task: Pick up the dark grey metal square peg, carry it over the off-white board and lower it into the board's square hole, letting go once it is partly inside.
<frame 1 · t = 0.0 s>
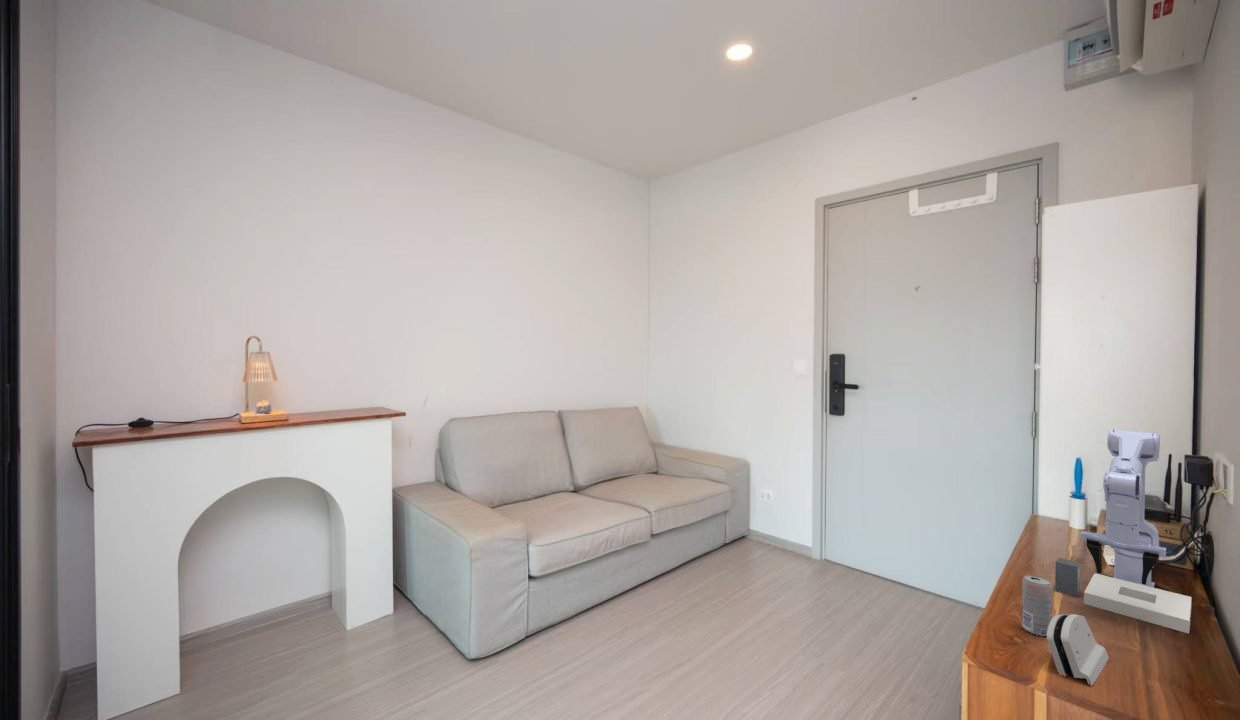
hand: (1121, 577, 122), 10 cm above the table, tool pointing down, fingers open, 7 cm apart
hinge: (1075, 664, 104), on the table
hole board: (1137, 606, 128), on the table
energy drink: (1036, 631, 116), on the table
square peg: (1067, 591, 136), on the table
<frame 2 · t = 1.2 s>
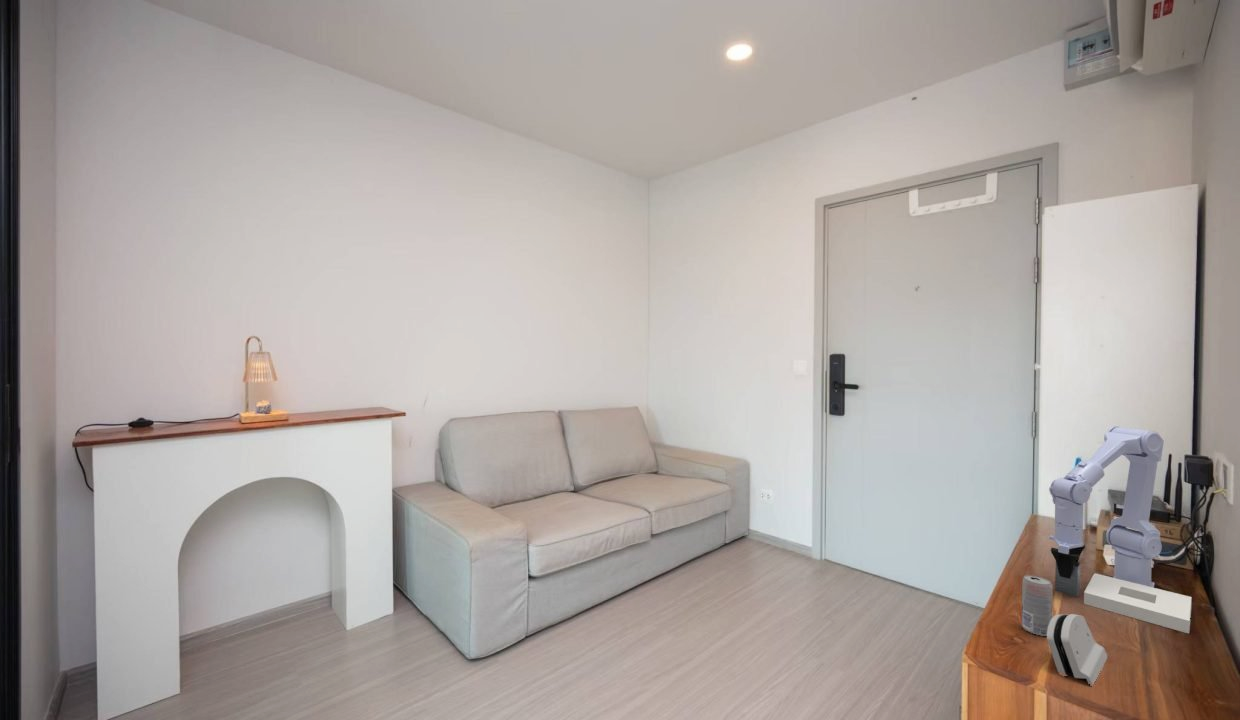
hand: (1067, 573, 136), 5 cm above the table, tool pointing down, fingers open, 7 cm apart
nothing on the table moved.
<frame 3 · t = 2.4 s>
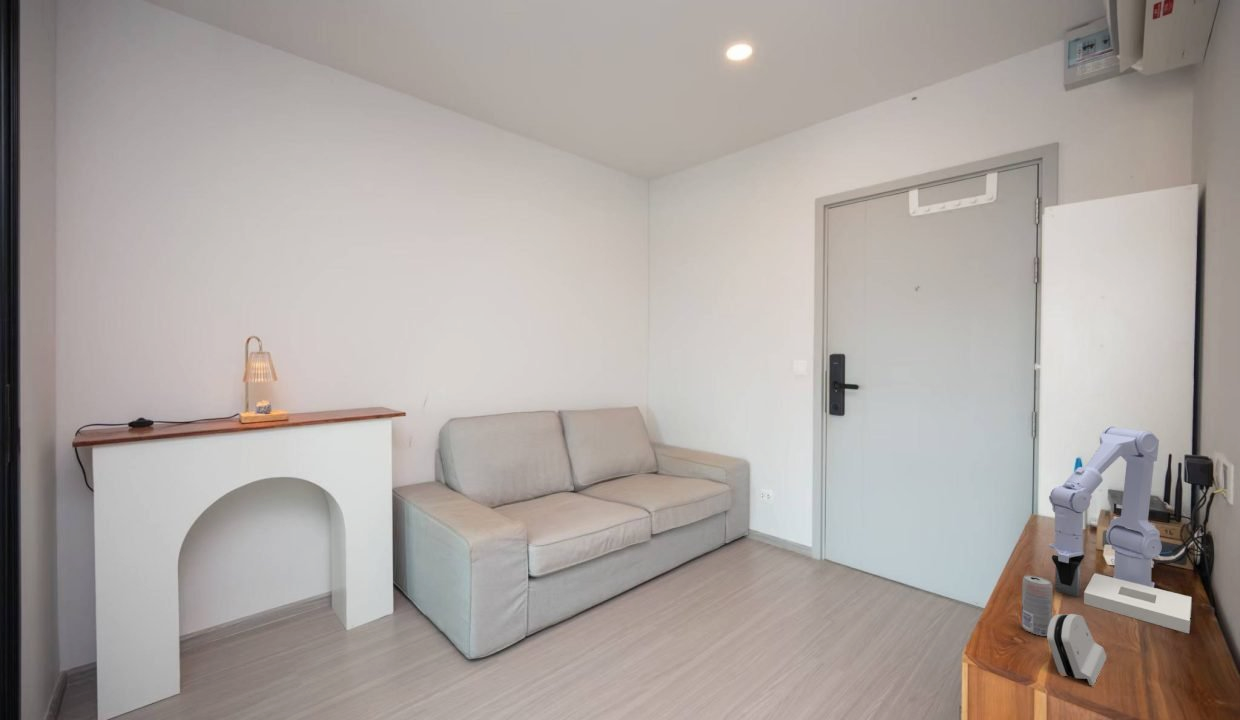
hand: (1067, 581, 136), 3 cm above the table, tool pointing down, fingers closed on square peg, 4 cm apart
square peg: (1067, 591, 136), on the table, touching gripper
everything else where it was.
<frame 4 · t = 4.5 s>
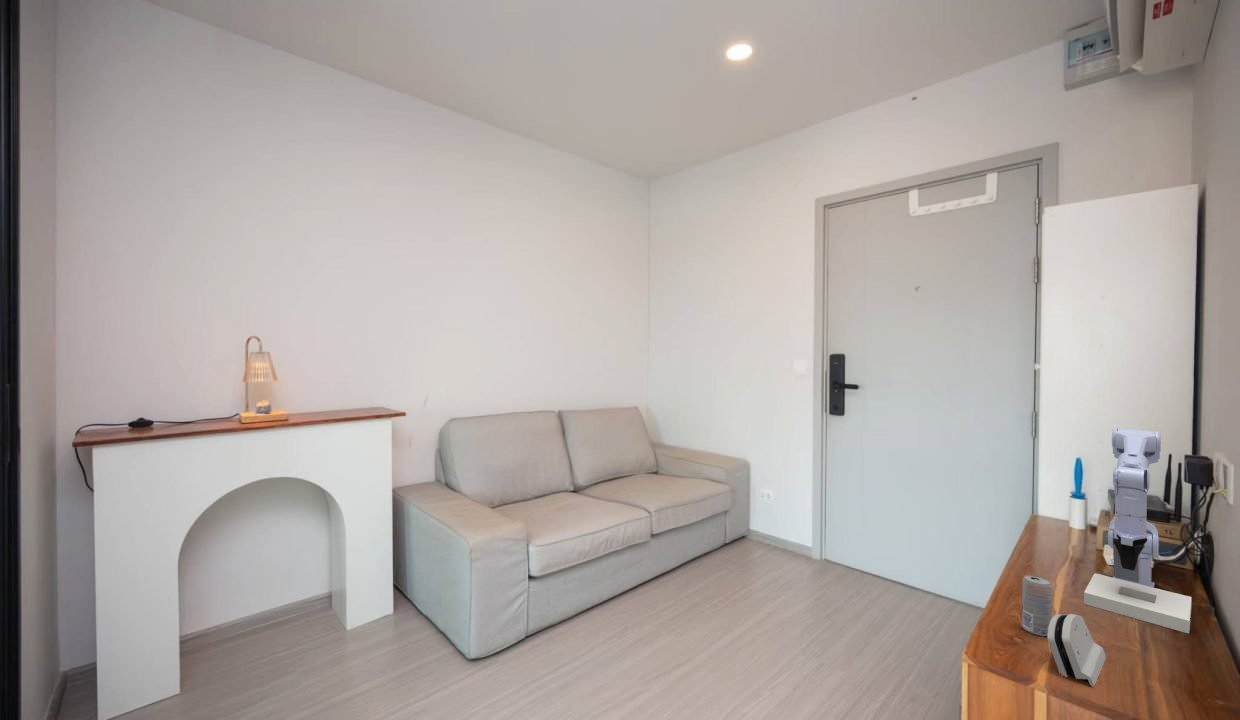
hand: (1129, 566, 129), 10 cm above the table, tool pointing down, fingers closed on square peg, 4 cm apart
square peg: (1127, 577, 129), point 7 cm above the table, touching gripper
everything else where it was.
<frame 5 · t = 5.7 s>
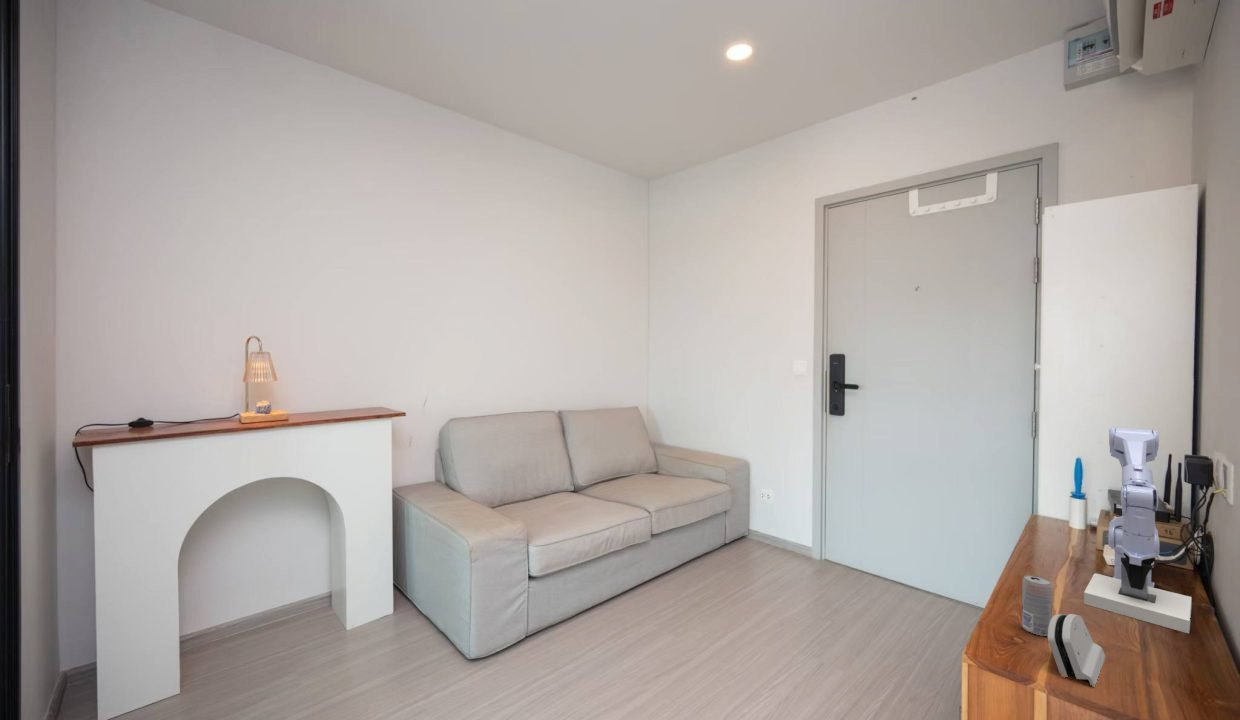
hand: (1137, 585, 128), 5 cm above the table, tool pointing down, fingers closed on square peg, 4 cm apart
square peg: (1134, 596, 128), point 2 cm above the table, touching gripper
everything else where it was.
when the fingers open (4 cm above the table, at t = 6.5 s): square peg drops 1 cm, resting in hole board.
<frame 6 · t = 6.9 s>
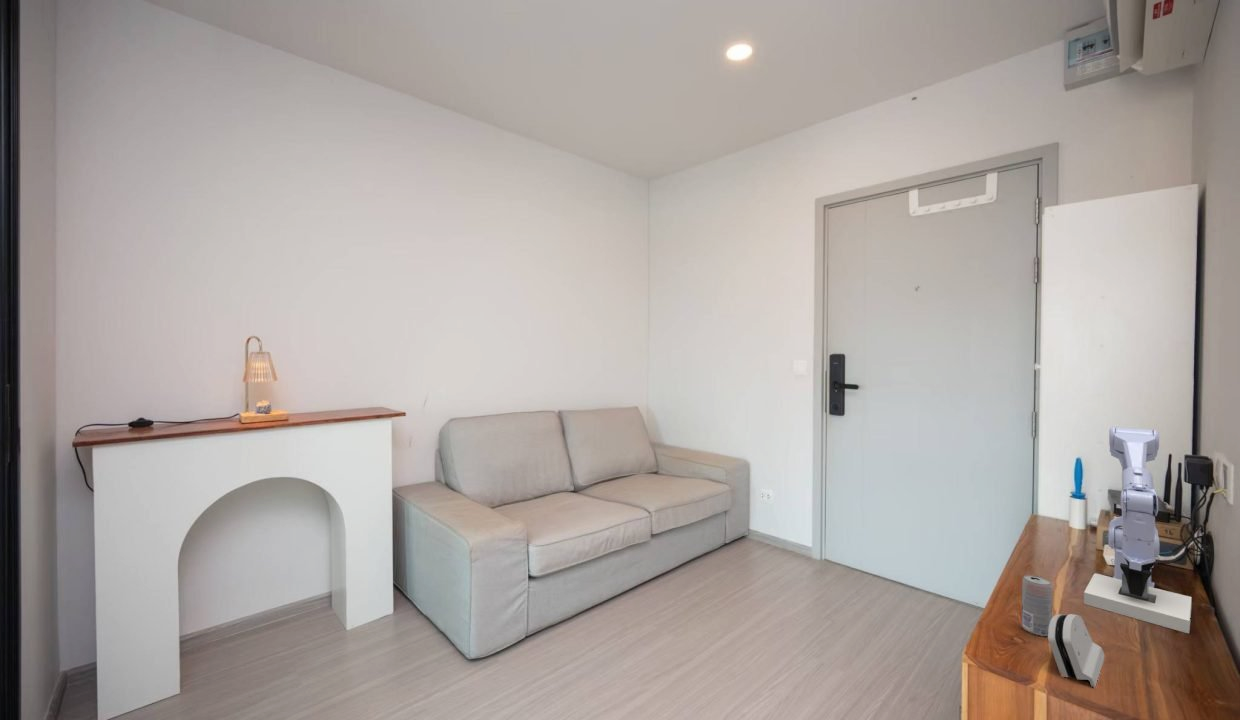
hand: (1137, 590, 128), 4 cm above the table, tool pointing down, fingers open, 7 cm apart
square peg: (1134, 605, 128), resting in hole board
everything else where it was.
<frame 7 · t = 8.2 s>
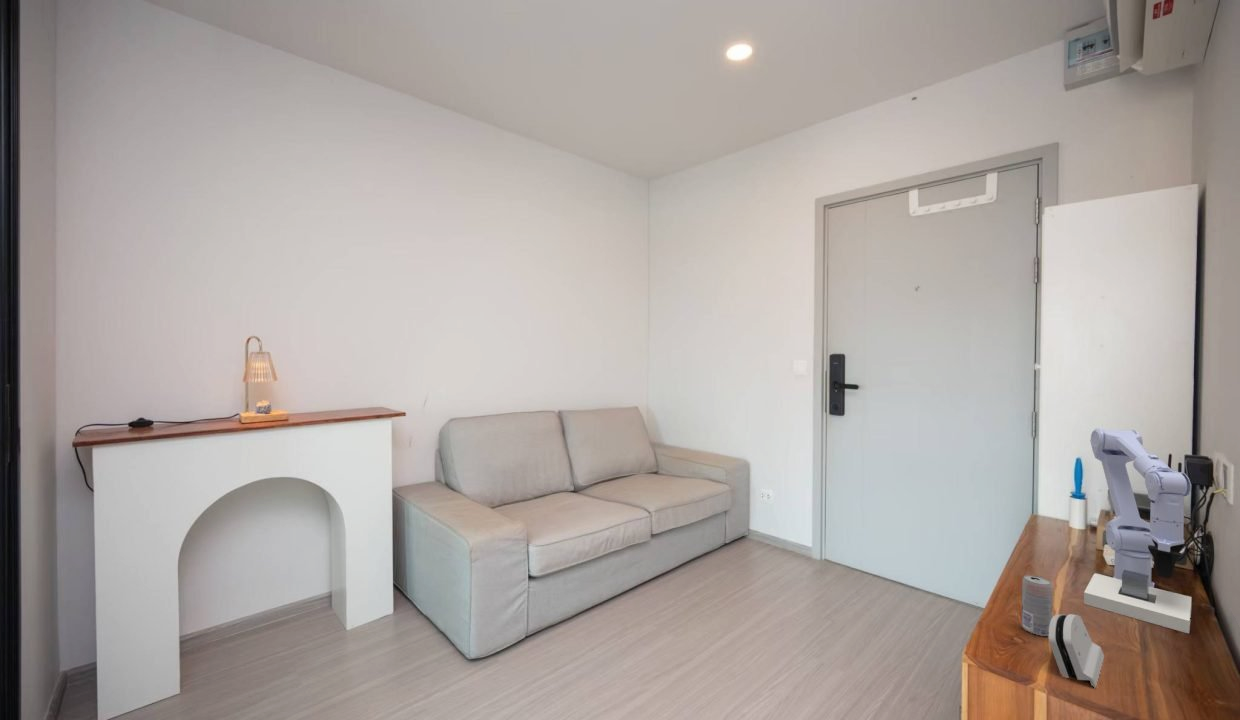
hand: (1165, 572, 126), 9 cm above the table, tool pointing down, fingers open, 7 cm apart
nothing on the table moved.
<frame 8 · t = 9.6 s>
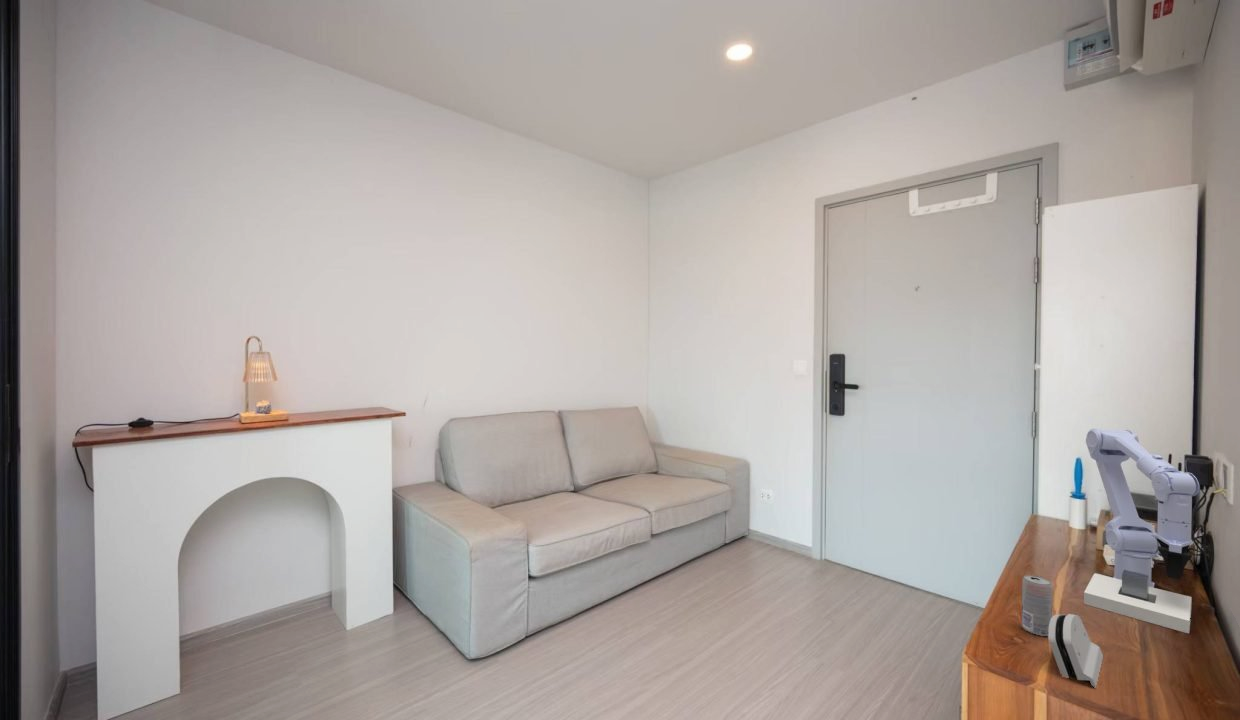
hand: (1173, 573, 126), 9 cm above the table, tool pointing down, fingers open, 7 cm apart
nothing on the table moved.
at the end: square peg 0.4 cm off-centre on the hole board, point 0.0 cm above the hole board's base; square peg tilted 0°; the gripper is holding nothing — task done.
